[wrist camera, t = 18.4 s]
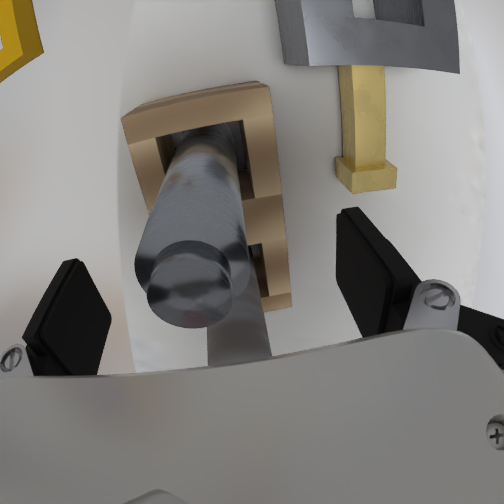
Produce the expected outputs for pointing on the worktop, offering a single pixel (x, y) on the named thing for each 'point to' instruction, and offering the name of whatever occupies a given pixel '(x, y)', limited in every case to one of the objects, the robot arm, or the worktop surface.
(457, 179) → the worktop surface
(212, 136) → the brushed metal cylinder
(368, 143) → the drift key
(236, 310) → the rack
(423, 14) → the socket block
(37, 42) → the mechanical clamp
